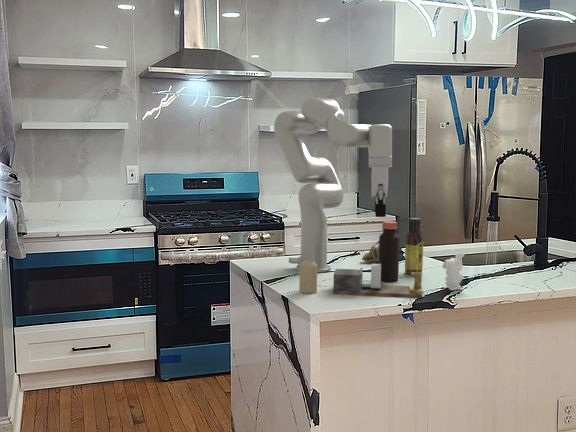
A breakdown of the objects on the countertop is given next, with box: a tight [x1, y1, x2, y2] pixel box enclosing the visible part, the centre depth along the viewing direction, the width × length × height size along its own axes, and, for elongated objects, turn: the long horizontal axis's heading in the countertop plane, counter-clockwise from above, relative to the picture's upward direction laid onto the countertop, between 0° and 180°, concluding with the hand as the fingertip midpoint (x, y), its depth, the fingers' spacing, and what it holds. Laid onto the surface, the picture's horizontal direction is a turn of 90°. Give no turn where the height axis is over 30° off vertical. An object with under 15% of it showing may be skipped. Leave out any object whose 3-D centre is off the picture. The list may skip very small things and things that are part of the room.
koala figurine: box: [441, 251, 466, 291], centre depth 216 cm, size 8×7×12 cm
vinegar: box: [378, 220, 401, 283], centre depth 228 cm, size 7×7×20 cm
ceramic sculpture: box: [361, 240, 379, 264], centre depth 262 cm, size 11×9×15 cm
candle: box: [298, 260, 318, 295], centre depth 211 cm, size 6×6×10 cm
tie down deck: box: [332, 267, 424, 299], centre depth 212 cm, size 28×11×7 cm, turn 82°
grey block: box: [361, 263, 382, 289], centre depth 212 cm, size 14×4×7 cm, turn 82°
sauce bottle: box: [404, 217, 424, 275], centre depth 240 cm, size 7×6×20 cm
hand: (380, 215), depth 219 cm, fingers open, 9 cm apart
